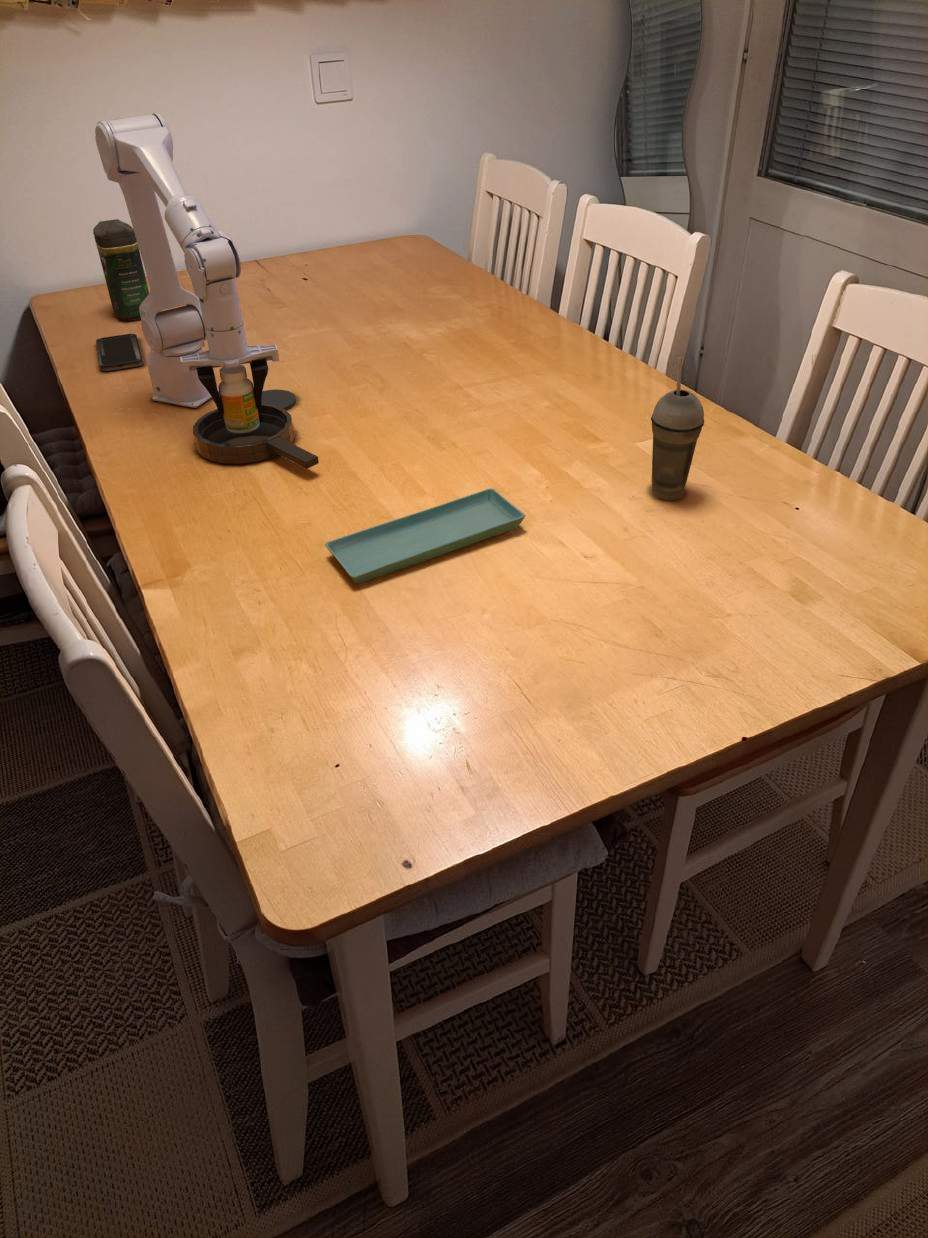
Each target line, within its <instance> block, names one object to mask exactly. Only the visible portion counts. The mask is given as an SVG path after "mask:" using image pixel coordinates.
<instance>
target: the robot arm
mask: <svg viewBox="0 0 928 1238" xmlns="http://www.w3.org/2000/svg"><path fill="white" fill-rule="evenodd" d="M170 129H171V128H170V127H169V125H168V123H167V121H166V120H165V118H164V117H163V116H162V115H161V114H160V113H158V112H153V113H152V114H148V115H147V114H146V115H139V116H132V117H125V118H118V119H110V120H103V119H102V120H98V121H97V123H96V125H95V129H94V134H95V138H94V139H95V143H96V148H97V151H98V153H99V157H100V160H101V164H102V167H103V171H104V173H105V174H106V178H107V180H108V181H111V182H114V183H117V184H118V185H119V187H120V190H121V192H122V195H123V198H124V201H125V205H126V208H127V212H128V215H129V218H130V222H131V225H132V226H131V227H132V228H133V229H134V233H135V236H136V240H137V243H138V247H139V251H140V255H141V260H142V264H143V268H144V272H145V275H146V279H147V281H148V284H149V287H150V290H149V294H148V295H147V297H146V298H145V299H144V301H143V302H142V303H141V305H140V307H139V309H140V310H139V312H140V316H141V319H140V320H141V321H140V322H141V330H142V333H143V336H144V339H145V341H146V343H147V345H148V347H149V351H148V354H147V359H146V365H147V369H148V373H149V378H150V381H151V385H152V390H153V393H154V395H153V396H152V397H151V399H152V401H154V402H155V401H156V402H160V403H167V404H170V405H171V404H172V405H176V406H182V407H187V408H193V409H197V408H199V407H200V406H201V405H203V404H204V403H206V402H208V401H209V400H210V399H212V400H213V402H214V404H215V407H216V409H218V412H219V414H224V413H223V408H222V404H221V400H220V395H219V389H218V387H219V386H218V385H217V380H216V375H215V370H214V369H217V368H222V367H224V366H225V367H227V368H228V367H236V366H239V365H246V364H249V367H250V372H251V377H252V383H253V386H254V392H255V398H256V405H257V409H260V408H262V406H261V400H262V391H264V386H265V382H266V379H267V376H268V373H269V364H268V361H271V362H274V363H275V362H280V355H279V348H278V346H277V344H266V345H265V344H263V345H261V344H260V345H258V344H255V345H254V344H252V345H250V344H248V342H247V335H246V330H245V324H244V317H243V312H242V307H241V301H240V294H239V290H238V283H237V278H239V277H240V276H241V273H242V264H241V258H240V254H239V252H238V249H237V248H236V247H237V246H236V245H235V244H234V241H233V239H232V238H231V237H230V236H228V235H227V234H225V233H224V232H223V231H222V230H217V228H216V226H215V225H214V223H213V221H212V219H211V218H210V216H209V214H208V212H207V211H206V208H205V207H204V206H203V204H202V202H201V201H200V200H199V199H198V198H197V197H195V196H192V195H189V194H188V192H187V190H186V188H185V186H184V183H183V182H182V179H181V177H180V175H179V172H178V171H177V169H176V166H175V164H174V141H173V136H172V132H171V130H170ZM157 196H158V197H159V199H160V200H161V202H162V203H163V205H164V206H165V210H164V214H163V215H164V220H165V222H166V224H167V226H168V228H169V230H170V231H171V233H172V235H173V237H174V238H175V240H176V241H177V243H178V245H179V246H180V248H181V250H182V252H183V253H184V254H183V255H184V256H183V257H184V265H185V268H186V272H187V274H188V276H189V279H190V281H191V285H192V288H193V291H194V292H191V290H187V289H185V288H184V287H182V286H181V283H180V279H179V276H178V271H177V268H176V264H175V262H174V257H173V252H172V248H171V246H170V242H169V239H168V238H169V237H168V235H167V231H166V226H165V224H164V220H163V217H162V212H161V210H160V206H159V202H158V198H157ZM205 341H207V347H208V349H207V350H204V351H203V347H206V344H205Z"/></svg>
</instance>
